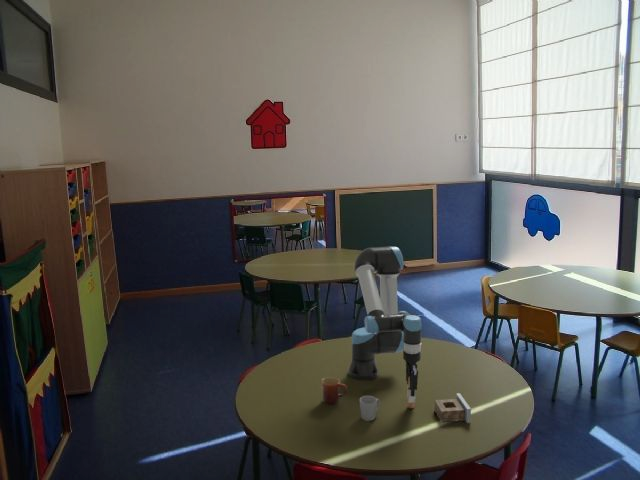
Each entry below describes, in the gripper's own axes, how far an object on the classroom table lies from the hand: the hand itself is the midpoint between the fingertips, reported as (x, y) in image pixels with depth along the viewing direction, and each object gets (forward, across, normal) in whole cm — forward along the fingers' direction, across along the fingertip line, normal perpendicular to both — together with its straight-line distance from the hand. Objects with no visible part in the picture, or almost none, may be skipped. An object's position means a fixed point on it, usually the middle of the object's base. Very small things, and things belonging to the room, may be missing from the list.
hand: (411, 400), depth 245 cm
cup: (+3, -6, +20) cm, 21 cm away
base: (+3, -9, -20) cm, 23 cm away
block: (+3, -9, -14) cm, 17 cm away
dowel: (+3, 0, 0) cm, 3 cm away
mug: (+4, +9, +34) cm, 35 cm away
